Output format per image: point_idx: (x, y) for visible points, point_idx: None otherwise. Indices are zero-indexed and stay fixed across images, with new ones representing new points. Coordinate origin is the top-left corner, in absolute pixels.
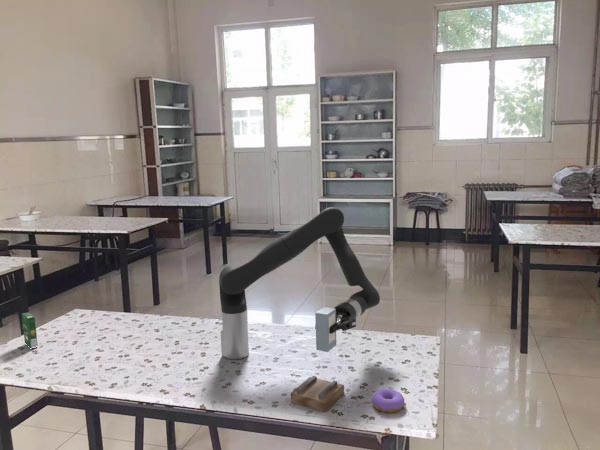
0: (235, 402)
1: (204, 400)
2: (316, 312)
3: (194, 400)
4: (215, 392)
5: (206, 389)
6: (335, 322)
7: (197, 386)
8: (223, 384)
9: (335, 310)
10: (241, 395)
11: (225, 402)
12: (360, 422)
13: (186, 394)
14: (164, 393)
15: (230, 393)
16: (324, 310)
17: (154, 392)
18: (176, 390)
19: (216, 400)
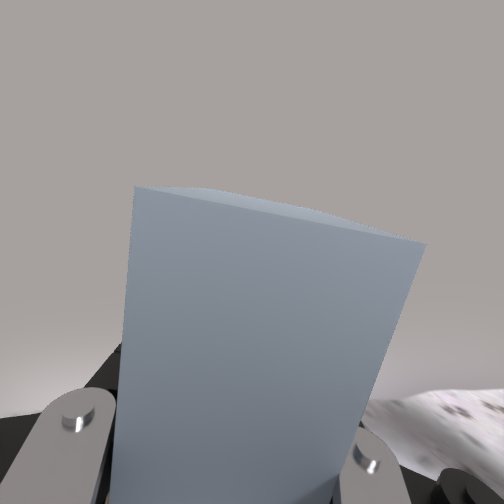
0: (364, 410)
1: (412, 401)
2: (310, 209)
3: (423, 396)
4: (441, 436)
5: (471, 442)
6: (122, 433)
7: (501, 449)
8: (488, 486)
9: (137, 226)
10: (388, 443)
11: (378, 405)
12: (34, 413)
13: (461, 410)
14: (486, 402)
15: (415, 443)
16: (283, 206)
17: (499, 401)
18: (493, 418)
19: (398, 407)
